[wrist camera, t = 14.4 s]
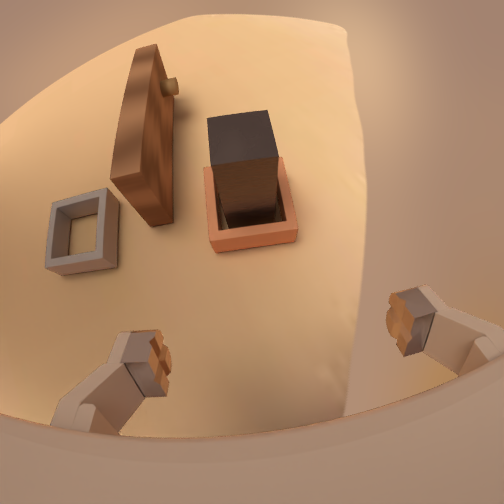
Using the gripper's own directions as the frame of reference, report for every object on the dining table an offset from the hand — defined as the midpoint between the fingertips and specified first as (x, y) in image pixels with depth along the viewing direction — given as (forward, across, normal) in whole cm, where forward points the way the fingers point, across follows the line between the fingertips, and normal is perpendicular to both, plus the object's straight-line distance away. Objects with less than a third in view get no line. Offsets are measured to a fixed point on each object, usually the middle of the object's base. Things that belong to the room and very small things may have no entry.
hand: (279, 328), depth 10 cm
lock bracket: (+19, 0, +2) cm, 19 cm away
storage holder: (+19, +17, +2) cm, 26 cm away
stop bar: (+19, 0, +2) cm, 19 cm away
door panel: (+25, +9, -4) cm, 27 cm away
